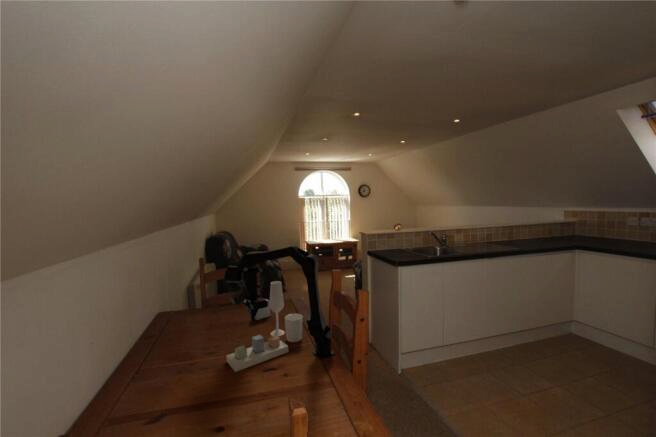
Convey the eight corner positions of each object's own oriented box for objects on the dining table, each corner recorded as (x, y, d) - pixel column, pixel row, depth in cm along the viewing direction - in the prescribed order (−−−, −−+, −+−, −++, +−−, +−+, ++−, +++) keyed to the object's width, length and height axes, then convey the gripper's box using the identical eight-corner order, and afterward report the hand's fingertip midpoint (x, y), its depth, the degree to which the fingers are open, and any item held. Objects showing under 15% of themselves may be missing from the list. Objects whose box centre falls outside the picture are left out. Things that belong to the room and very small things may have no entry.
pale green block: (247, 361, 111) (246, 348, 111) (238, 364, 109) (238, 351, 109) (243, 358, 114) (243, 345, 114) (235, 361, 112) (234, 348, 112)
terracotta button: (279, 349, 120) (279, 337, 120) (272, 352, 118) (272, 340, 118) (276, 346, 123) (275, 335, 122) (268, 349, 121) (268, 337, 120)
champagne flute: (286, 334, 135) (284, 283, 134) (271, 337, 133) (269, 285, 131) (283, 329, 141) (281, 279, 140) (269, 331, 139) (267, 281, 138)
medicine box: (266, 314, 161) (265, 298, 161) (270, 316, 158) (270, 300, 157) (253, 318, 156) (252, 302, 155) (257, 320, 153) (256, 304, 152)
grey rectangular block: (264, 350, 116) (263, 337, 115) (255, 352, 113) (255, 340, 113) (260, 346, 118) (259, 334, 118) (252, 349, 116) (251, 337, 116)
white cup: (300, 343, 126) (299, 320, 126) (282, 342, 128) (282, 319, 127) (305, 335, 134) (304, 314, 133) (288, 334, 135) (288, 313, 135)
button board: (288, 351, 119) (288, 345, 119) (235, 371, 106) (235, 365, 106) (277, 343, 126) (277, 338, 126) (226, 361, 113) (226, 355, 113)
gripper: (223, 281, 123) (225, 318, 124) (240, 291, 108) (242, 332, 109) (249, 277, 130) (250, 311, 131) (268, 286, 115) (269, 324, 116)
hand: (252, 319), depth 121 cm, fingers closed
